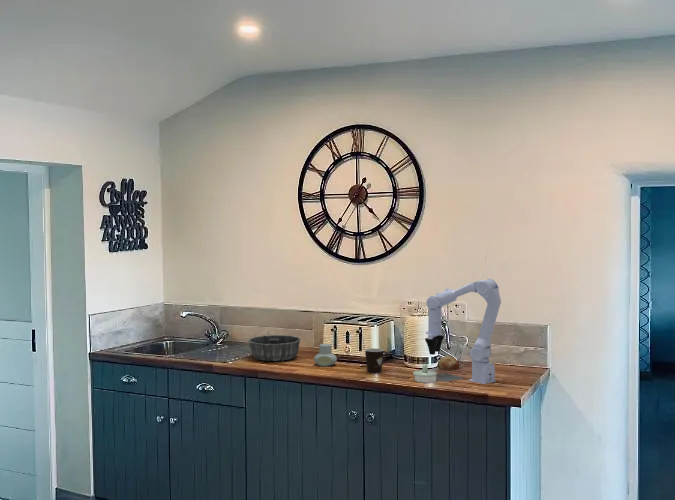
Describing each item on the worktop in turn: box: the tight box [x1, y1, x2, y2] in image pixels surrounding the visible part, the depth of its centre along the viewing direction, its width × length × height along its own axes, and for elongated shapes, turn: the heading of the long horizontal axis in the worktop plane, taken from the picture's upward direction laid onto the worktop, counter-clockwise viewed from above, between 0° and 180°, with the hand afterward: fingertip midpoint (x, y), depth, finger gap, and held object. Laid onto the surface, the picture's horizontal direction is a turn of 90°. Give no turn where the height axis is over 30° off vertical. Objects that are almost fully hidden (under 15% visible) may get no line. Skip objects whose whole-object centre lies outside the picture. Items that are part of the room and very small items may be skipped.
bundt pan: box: [247, 334, 302, 363], centre depth 360 cm, size 26×26×10 cm
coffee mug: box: [364, 347, 388, 374], centre depth 329 cm, size 12×9×10 cm
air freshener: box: [313, 343, 338, 368], centre depth 343 cm, size 11×8×10 cm
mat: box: [436, 372, 465, 382], centre depth 314 cm, size 12×12×1 cm
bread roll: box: [437, 355, 460, 371], centre depth 334 cm, size 10×10×8 cm
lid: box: [412, 363, 438, 377], centre depth 308 cm, size 10×10×4 cm
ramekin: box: [414, 375, 437, 384], centre depth 308 cm, size 9×9×3 cm
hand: (434, 353), depth 319 cm, fingers open, 7 cm apart
